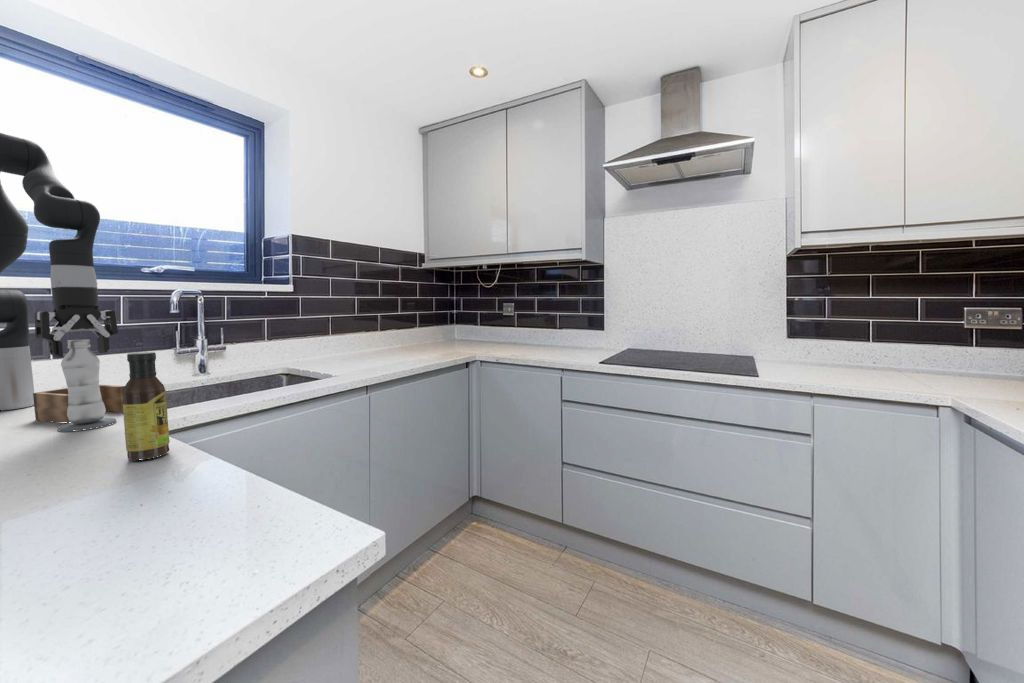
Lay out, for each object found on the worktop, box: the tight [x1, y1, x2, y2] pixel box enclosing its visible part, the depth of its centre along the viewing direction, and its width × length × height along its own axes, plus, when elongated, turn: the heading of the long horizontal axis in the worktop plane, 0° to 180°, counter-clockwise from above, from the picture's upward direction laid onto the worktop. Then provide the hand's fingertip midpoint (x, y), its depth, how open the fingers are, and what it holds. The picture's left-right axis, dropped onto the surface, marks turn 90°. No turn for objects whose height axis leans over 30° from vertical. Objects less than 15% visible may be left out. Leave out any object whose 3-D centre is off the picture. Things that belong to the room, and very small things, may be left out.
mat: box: [57, 417, 117, 432], centre depth 102 cm, size 10×10×1 cm
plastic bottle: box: [60, 338, 107, 424], centre depth 101 cm, size 6×7×20 cm
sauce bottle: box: [123, 351, 170, 461], centre depth 80 cm, size 6×6×20 cm
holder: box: [33, 383, 126, 423], centre depth 111 cm, size 12×12×7 cm
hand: (81, 354), depth 101 cm, fingers open, 8 cm apart
